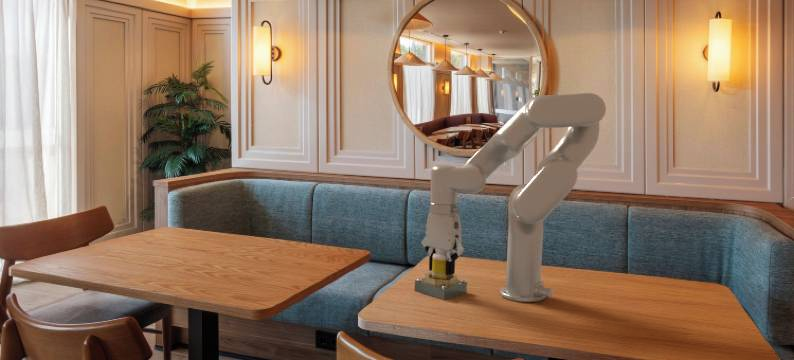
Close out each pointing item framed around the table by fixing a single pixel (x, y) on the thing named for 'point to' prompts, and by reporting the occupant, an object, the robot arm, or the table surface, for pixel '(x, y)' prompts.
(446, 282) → the octagonal bottle holder
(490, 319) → the table surface
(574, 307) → the table surface
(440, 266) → the supplement bottle
